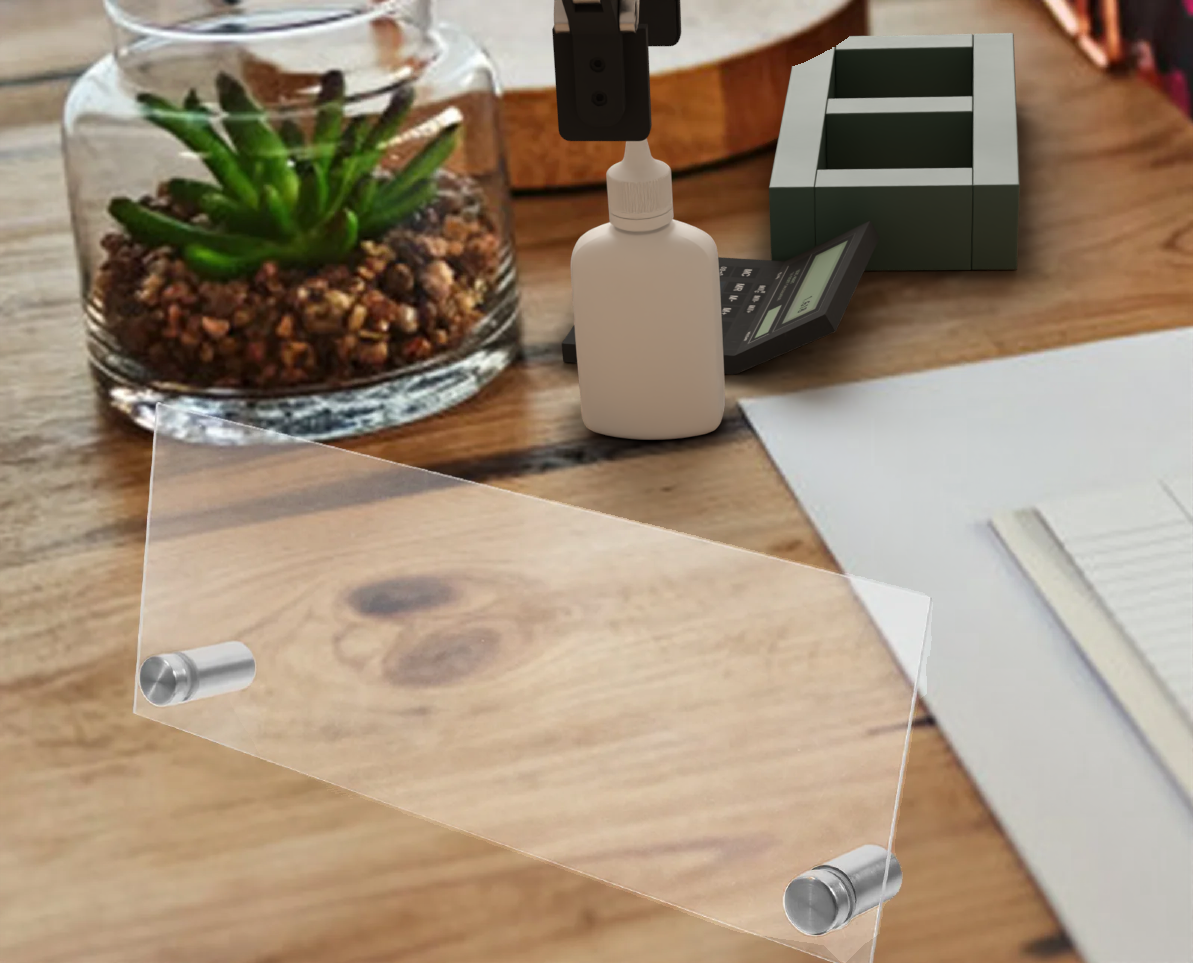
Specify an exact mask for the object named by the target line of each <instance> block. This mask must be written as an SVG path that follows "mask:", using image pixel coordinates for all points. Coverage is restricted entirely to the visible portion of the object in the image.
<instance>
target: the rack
mask: <svg viewBox="0 0 1193 963" xmlns="http://www.w3.org/2000/svg"><path fill="white" fill-rule="evenodd" d="M1014 36H1015V34H1014V33H1013V32H999V33H998V32H994V33H993V32H991V33H990V32H989V33H985V32H984V33H947V34H945V33H944V34H943V33H942V34H941V33H940V34H904V35H903V34H899V35H898V34H895V35H849V37H848V38H847V39H845V40H844V41H842V42H841V43H839V44H838V45H836V47H832V49H830V50H827V51H825V52H824V53H822V54H820V55H818V56H816V57H814V58H812V59H810V60H808V61H806V62H804V63H801V64H798V65H795V66H792V65H791V69H790V74H789V80H788V85H787V90H786V96H785V102H784V106H783V112H782V117H781V121H780V128H779V132H778V137H777V144H776V149H775V154H774V160H773V164H772V170H771V175H770V179H769V185H768V202H769V203H768V204H769V206H768V207H769V237H770V238H769V241H770V243H769V244H770V260H772V261H787V260H789V259H791V258H793V257H795V256H797V255H799V254H801V253H803V252H806V251H808V250H810V249H812V248H814V247H816V246H818V245H820V244H822V243H824V242H827V241H829V240H831V239H833V238H835V237H837V236H839V235H841V234H843V233H845V232H847V231H850V230H852V229H854V228H856V227H858V226H860V225H862V224H864V223H866V222H868V221H871V223H872V225H873V226H874V228H875V230H876V231H877V233H878V235H879V237H880V238H879V240H878V242H877V244H876V246H875V249H874V251H873V253H872V255H871V257H870V259H869V261H868V264H867V266H866V268H865V270H864V272H865V271H869V272H871V271H874V272H875V271H971V270H972V271H980V270H981V271H985V270H987V271H989V270H990V271H992V270H993V271H994V270H995V271H997V270H1001V271H1002V270H1005V271H1007V270H1008V271H1009V270H1013V271H1014V270H1015V271H1016V270H1018V261H1019V260H1018V257H1019V255H1018V254H1019V228H1020V227H1019V225H1020V197H1021V196H1020V194H1021V193H1020V192H1021V182H1020V180H1021V179H1020V157H1019V132H1018V106H1017V105H1018V104H1017V83H1016V82H1017V80H1016V58H1015V37H1014Z"/></svg>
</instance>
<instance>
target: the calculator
mask: <svg viewBox="0 0 1193 963" xmlns="http://www.w3.org/2000/svg"><path fill="white" fill-rule="evenodd" d="M879 238H880V237H879V235H878V233H877V231H876V230H875V228H874V226H873V225H872V223H871V221H868V222H866V223H864V224H862V225H860V226H858V227H856V228H854V229H852V230H850V231H847V232H845V233H843V234H841V235H839V236H837V237H835V238H833V239H831V240H829V241H827V242H824V243H822V244H820V245H818V246H816V247H814V248H812V249H810V250H808V251H806V252H803V253H801V254H799V255H797V256H795V257H793V258H791V259H789V260H787V261H772V260H771V259H753V258H737V257H723V256H721V257H719V256H718V262H719V277H720V297H721V317H722V338H723V360H724V375H725V374H726V375H737V374H740V373H742V372H745V371H746V370H749V369H752V368H754V367H756V366H758V365H761V364H763V363H765V362H768V361H770V360H772V359H775V358H777V357H780V356H783V355H784V354H787V353H790V352H791V351H793V350H796V349H799V348H800V347H804V346H806V345H808V344H810V343H813V342H815V341H817V340H820V339H822V338H824V337H826V336H829V335H831V334H833V333H836V332H837V329H838V327H839V325H840V323H841V321H842V320H843V317H844V315H845V312H847V309H848V306H849V304H850V302H851V300H852V298H853V296H854V293H855V291H856V290H857V287H858V285H859V283H860V281H861V278H862V277H863V274H864V272H865V271H864V270H865V268H866V266H867V264H868V261H869V259H870V257H871V255H872V253H873V251H874V249H875V246H876V244H877V242H878V240H879ZM561 352H562V362H563V363H572V364H573V363H574V364H575V363H576V364H577V352H576V339H575V326H574V325H573V326H571V328H570V330H569V332H568V333H567V335H566V336H565V337H564V339H563V340H562V342H561Z"/></svg>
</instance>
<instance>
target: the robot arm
mask: <svg viewBox="0 0 1193 963" xmlns="http://www.w3.org/2000/svg"><path fill="white" fill-rule="evenodd" d="M681 7H682V6H681V0H553V27H552V28H551V29H552V30H551V33H552V47H553V64H554V79H555V80H554V81H555V95H556V109H557V111H556V112H557V113H556V114H557V130H558V134H559V136H560V137H561V138H562V139H563V140H564V141H566V142H626V141H643V140H645V139H646V138H647V139H648V138H649V136H650V134H651V131H652V125H653V124H652V123H653V122H652V103H651V102H652V101H651V75H650V74H651V73H650V54H649V53H650V51H649V47H673V46H676V45H677V44H678V43H679V41H680V40H681V36H682V8H681Z"/></svg>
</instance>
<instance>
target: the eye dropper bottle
mask: <svg viewBox="0 0 1193 963" xmlns="http://www.w3.org/2000/svg"><path fill="white" fill-rule="evenodd" d="M605 176H606V177H605V178H606V192H607V204H608V219H609V220H608V222H605V223H603V224H601V225H598V226H596V227H593V228H591V229H589V230H587V231H586V232H585V233H583V234H582V235H581V236H580V237H579V238H578V240H577V241H576V243H575V245H574V247H573V250H572V253H571V257H570V267H569V268H570V282H571V283H570V284H571V285H570V286H571V300H572V310H573V311H572V312H573V313H572V314H573V326H575V339H576V352H577V363H576V364H577V374H578V375H577V376H578V387H579V397H580V398H579V399H580V401H579V402H580V412H581V419H582V421H583V424H584V426H585V427H586V429H588V430H590V431H591V432H593V433H596V434H600V435H603V436H604V435H605V436H608V437H614V438H620V439H630V440H643V441H644V440H645V441H656V440H657V441H660V440H661V441H662V440H675V439H684V438H691V437H698V436H702V435H706V434H709V433H711V432H714V431H715V430H717V429H718V427H719V426H720V425H721V423H722V420H723V417H724V411H725V407H726V387H725V386H726V384H725V374H724V360H723V338H722V317H721V297H720V277H719V262H718V257H719V253H718V252H719V251H718V247H717V244H716V242H715V240H714V238H713V237H712V236H711V235H710V234H709V233H707V232H706V231H704V230H702V229H701V228H698V227H696V226H694V225H691V224H689V223H686V222H683V221H680V220H677V219H674V217H675V216H674V200H673V182H672V169H671V167H670V165H668V164H667V163H666V162H664V161H662V160H660V159H656V158H654V157H653V156H652V152H651V149H650V145H649V142H648V137H647V138H646V139H645V140H643V141H625V148H624V154H623V158H622V160H621V161H619V162H616V163H615V164H612V165H611V166H610V167H609V168H608V169H607V171H606V174H605Z"/></svg>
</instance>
